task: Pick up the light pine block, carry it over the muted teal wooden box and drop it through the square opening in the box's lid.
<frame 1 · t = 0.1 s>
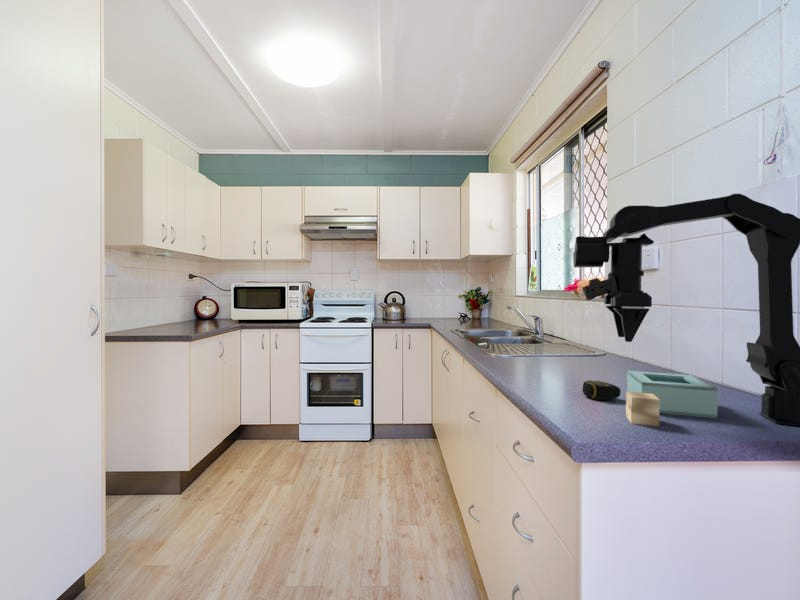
hand: (624, 339, 83), 15 cm above the countertop, fingers open, 9 cm apart
teal box: (667, 405, 84), on the countertop
pine block: (641, 421, 74), on the countertop
tape measure: (599, 398, 91), on the countertop
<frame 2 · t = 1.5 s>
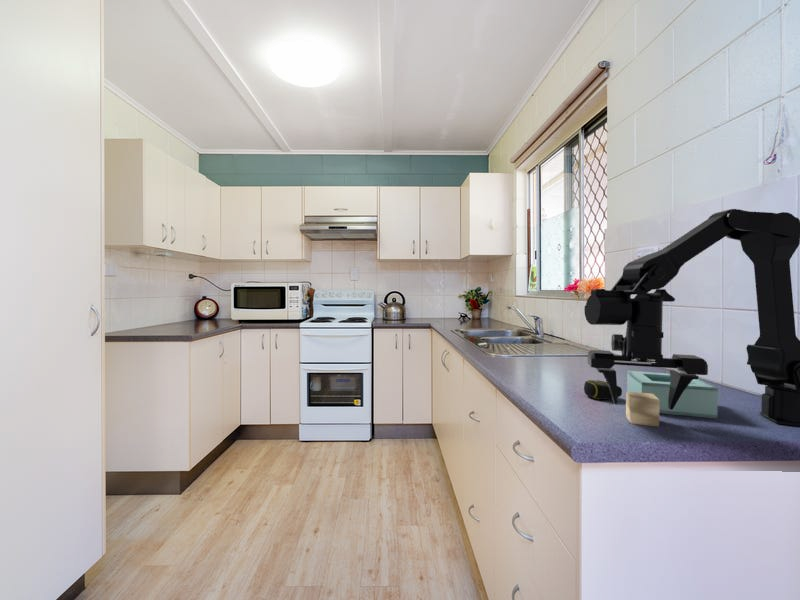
hand: (642, 406, 74), 3 cm above the countertop, fingers open, 9 cm apart
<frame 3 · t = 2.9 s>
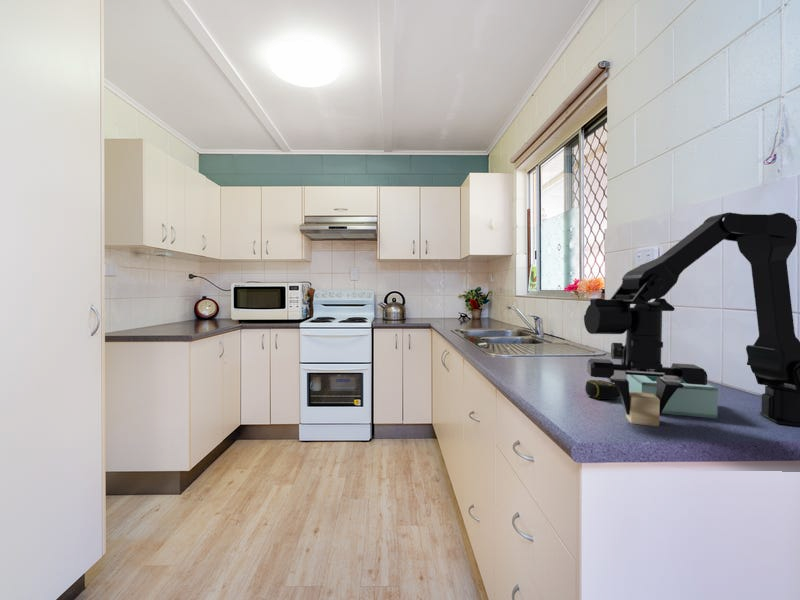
hand: (641, 415, 74), 1 cm above the countertop, fingers closed on pine block, 4 cm apart
pine block: (641, 421, 74), on the countertop, touching gripper
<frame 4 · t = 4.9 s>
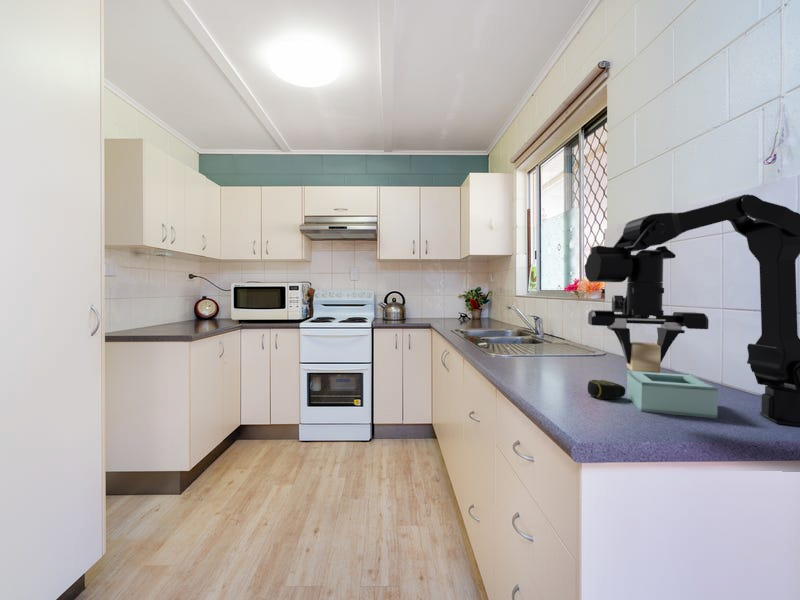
hand: (642, 364, 74), 11 cm above the countertop, fingers closed on pine block, 4 cm apart
pine block: (642, 369, 74), point 10 cm above the countertop, touching gripper
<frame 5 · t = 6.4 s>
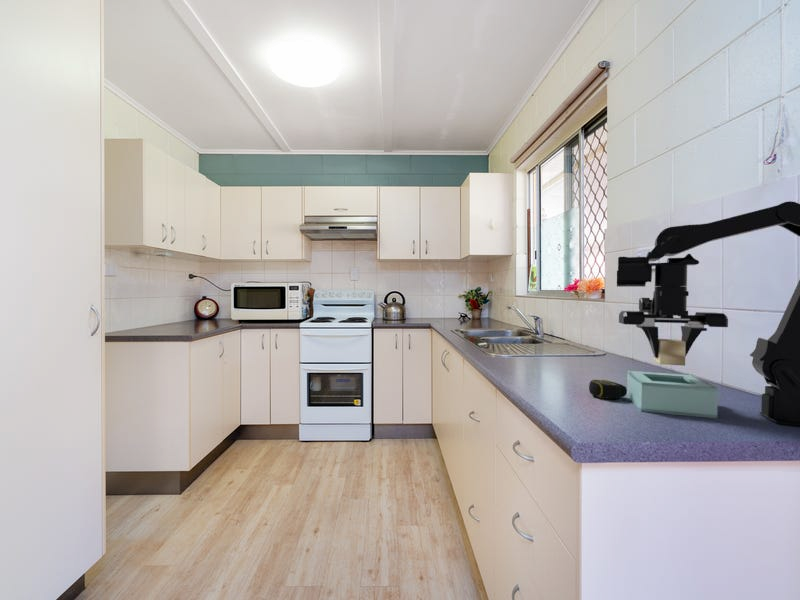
hand: (669, 358, 84), 10 cm above the countertop, fingers closed on pine block, 4 cm apart
pine block: (669, 363, 84), point 9 cm above the countertop, touching gripper
when the fingers open (8 cm above the countertop, at t = 7.4 s): pine block drops 7 cm, resting on teal box.
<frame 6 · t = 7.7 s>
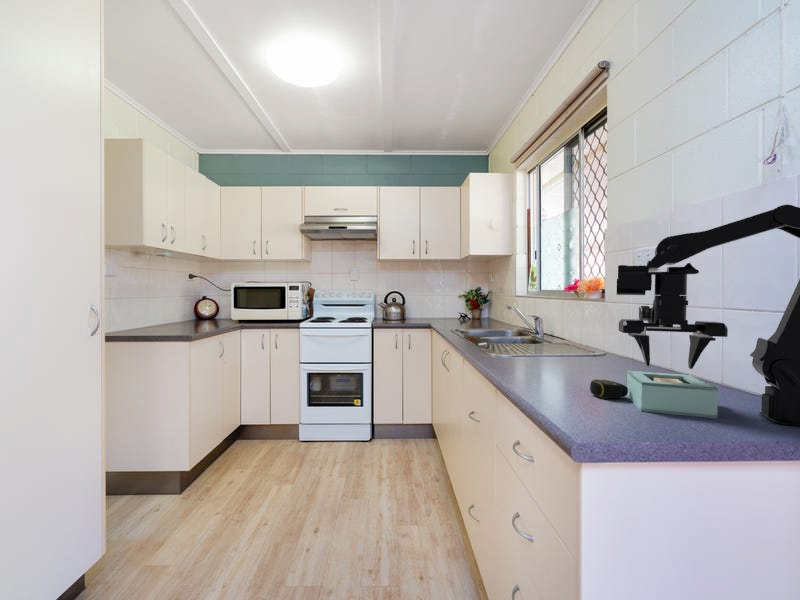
hand: (668, 367, 84), 8 cm above the countertop, fingers open, 8 cm apart
pine block: (668, 403, 84), point 1 cm above the countertop, touching teal box
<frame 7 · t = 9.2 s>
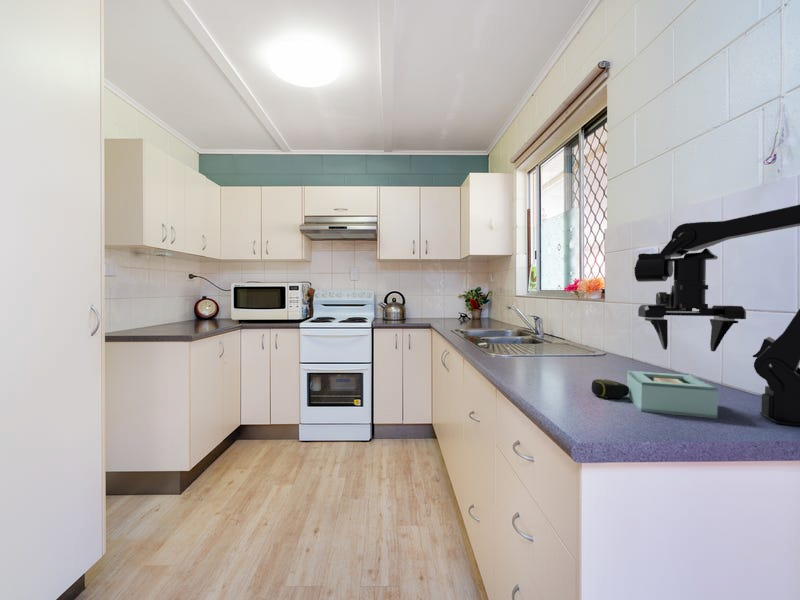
hand: (688, 350, 86), 12 cm above the countertop, fingers open, 9 cm apart
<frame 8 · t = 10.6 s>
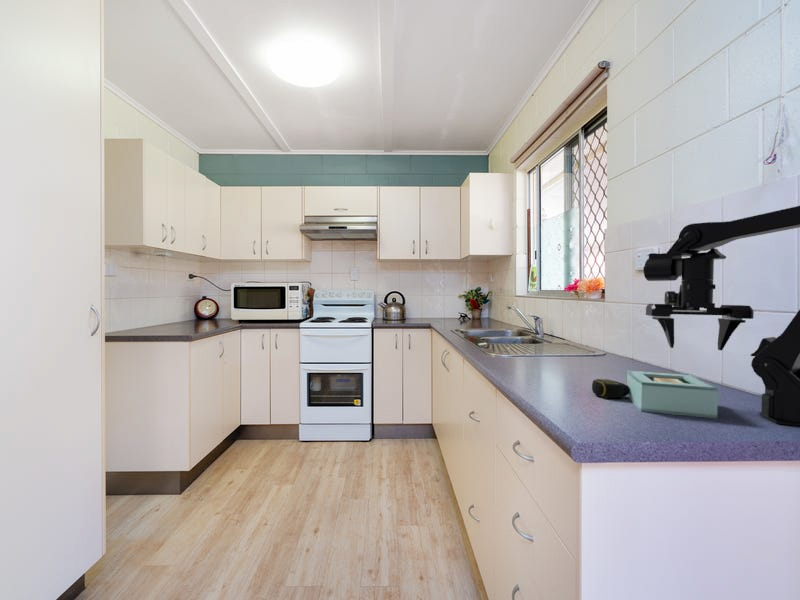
hand: (695, 348, 88), 12 cm above the countertop, fingers open, 9 cm apart
at the end: pine block inside the target area on the teal box (0.1 cm from its centre), point 0.6 cm above the teal box's base; the gripper is holding nothing; tape measure moved 3.6 cm from its start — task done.
